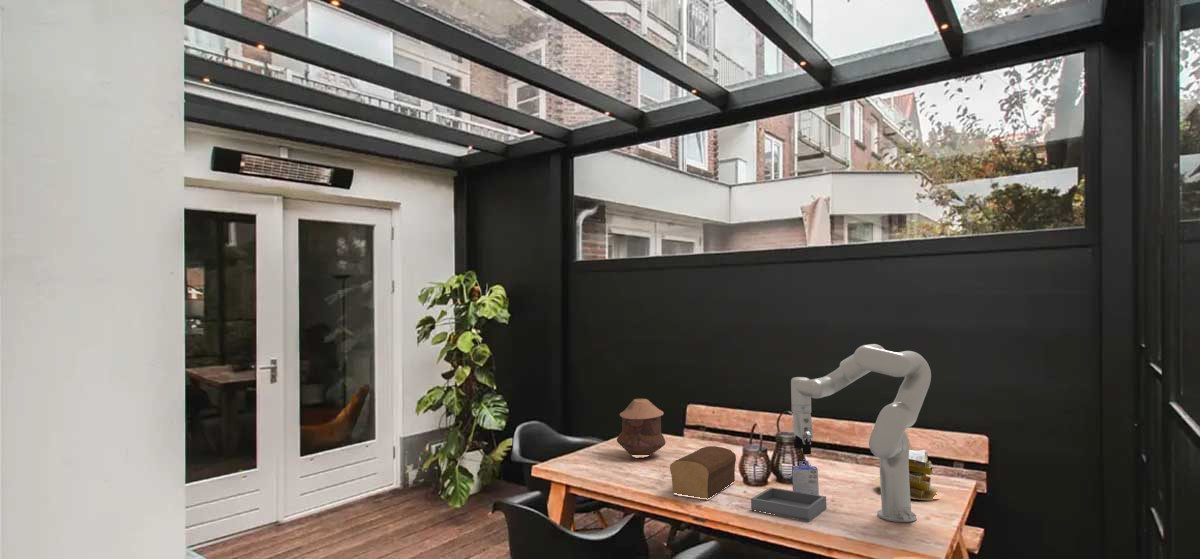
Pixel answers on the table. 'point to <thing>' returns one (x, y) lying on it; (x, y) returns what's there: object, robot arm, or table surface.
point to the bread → (703, 472)
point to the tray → (789, 503)
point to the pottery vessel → (641, 428)
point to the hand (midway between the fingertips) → (802, 451)
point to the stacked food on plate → (919, 476)
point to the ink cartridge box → (805, 478)
